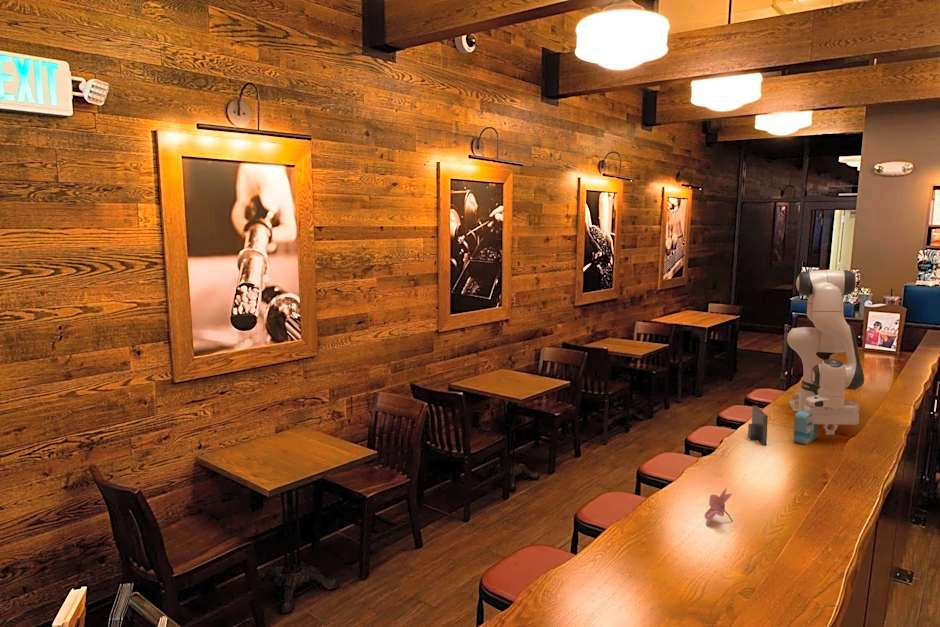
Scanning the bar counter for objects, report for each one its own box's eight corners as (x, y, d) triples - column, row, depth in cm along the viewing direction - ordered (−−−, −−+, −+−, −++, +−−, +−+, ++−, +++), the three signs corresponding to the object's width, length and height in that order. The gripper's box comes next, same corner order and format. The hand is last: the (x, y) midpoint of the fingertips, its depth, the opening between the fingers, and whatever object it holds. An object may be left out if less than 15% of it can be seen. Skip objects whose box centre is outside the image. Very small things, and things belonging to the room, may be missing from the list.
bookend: (743, 433, 260) (745, 405, 258) (755, 433, 259) (756, 405, 258) (754, 445, 246) (755, 415, 244) (766, 445, 246) (767, 415, 244)
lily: (713, 511, 193) (698, 486, 192) (750, 507, 186) (735, 481, 184) (704, 538, 184) (689, 512, 183) (743, 535, 177) (728, 507, 175)
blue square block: (805, 445, 245) (806, 415, 243) (793, 442, 248) (794, 413, 246) (817, 438, 252) (819, 409, 251) (805, 435, 256) (807, 407, 254)
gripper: (855, 399, 248) (853, 432, 250) (801, 398, 251) (799, 431, 253) (863, 403, 242) (861, 437, 244) (807, 402, 245) (805, 436, 247)
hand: (829, 434), depth 248 cm, fingers closed
